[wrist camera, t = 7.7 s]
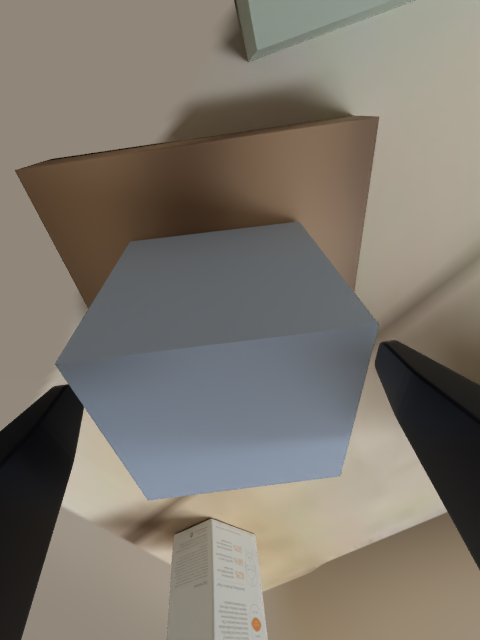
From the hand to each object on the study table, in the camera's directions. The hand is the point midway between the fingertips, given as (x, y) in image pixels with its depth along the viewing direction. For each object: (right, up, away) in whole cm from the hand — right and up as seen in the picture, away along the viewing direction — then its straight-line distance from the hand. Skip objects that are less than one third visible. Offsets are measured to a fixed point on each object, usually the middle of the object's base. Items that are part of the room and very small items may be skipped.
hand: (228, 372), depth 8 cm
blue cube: (0, +2, +3) cm, 4 cm away
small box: (-2, -22, +24) cm, 33 cm away
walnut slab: (-1, +4, +5) cm, 7 cm away
